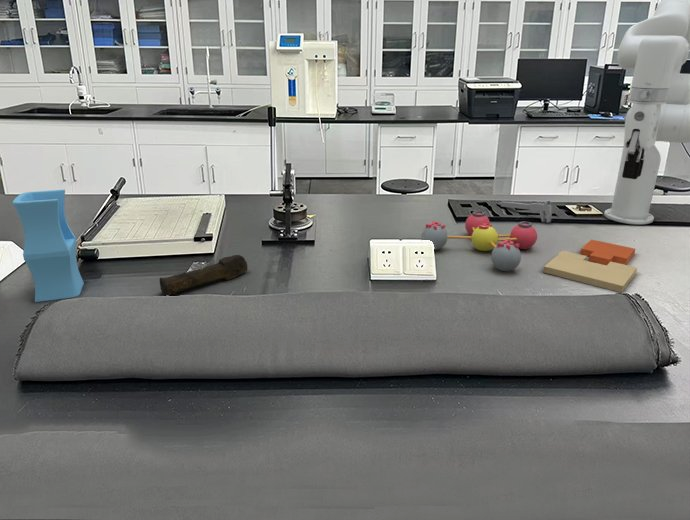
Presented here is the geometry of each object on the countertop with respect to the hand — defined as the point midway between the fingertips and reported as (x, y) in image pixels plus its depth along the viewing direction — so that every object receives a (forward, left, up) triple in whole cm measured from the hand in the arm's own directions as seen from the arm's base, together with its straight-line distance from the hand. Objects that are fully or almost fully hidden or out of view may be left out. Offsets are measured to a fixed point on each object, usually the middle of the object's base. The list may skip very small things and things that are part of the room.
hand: (631, 176), depth 126 cm
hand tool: (+79, -61, -17) cm, 101 cm away
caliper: (-9, -28, -17) cm, 34 cm away
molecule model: (+25, -24, -17) cm, 39 cm away
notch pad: (+23, 0, -17) cm, 29 cm away
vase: (+100, -81, -17) cm, 130 cm away
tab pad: (+10, 0, -17) cm, 20 cm away
